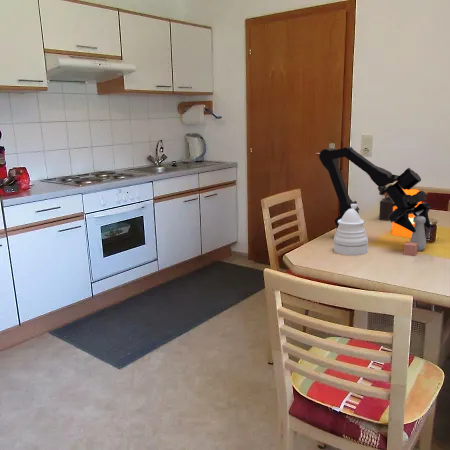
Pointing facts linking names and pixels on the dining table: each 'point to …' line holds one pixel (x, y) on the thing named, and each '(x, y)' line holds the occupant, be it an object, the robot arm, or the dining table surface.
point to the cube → (410, 248)
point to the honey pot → (351, 234)
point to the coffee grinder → (385, 206)
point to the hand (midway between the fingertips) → (422, 229)
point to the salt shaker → (419, 232)
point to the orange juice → (403, 231)
